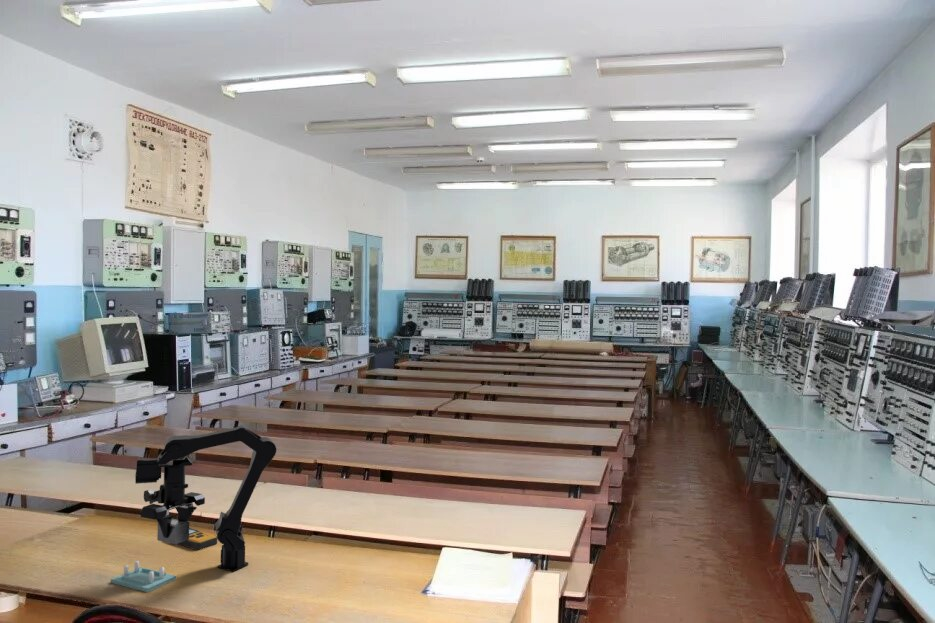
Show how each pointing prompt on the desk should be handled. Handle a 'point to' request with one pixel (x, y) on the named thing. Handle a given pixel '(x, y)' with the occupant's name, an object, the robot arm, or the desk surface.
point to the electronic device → (199, 540)
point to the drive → (175, 532)
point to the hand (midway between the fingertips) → (173, 535)
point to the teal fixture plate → (143, 578)
